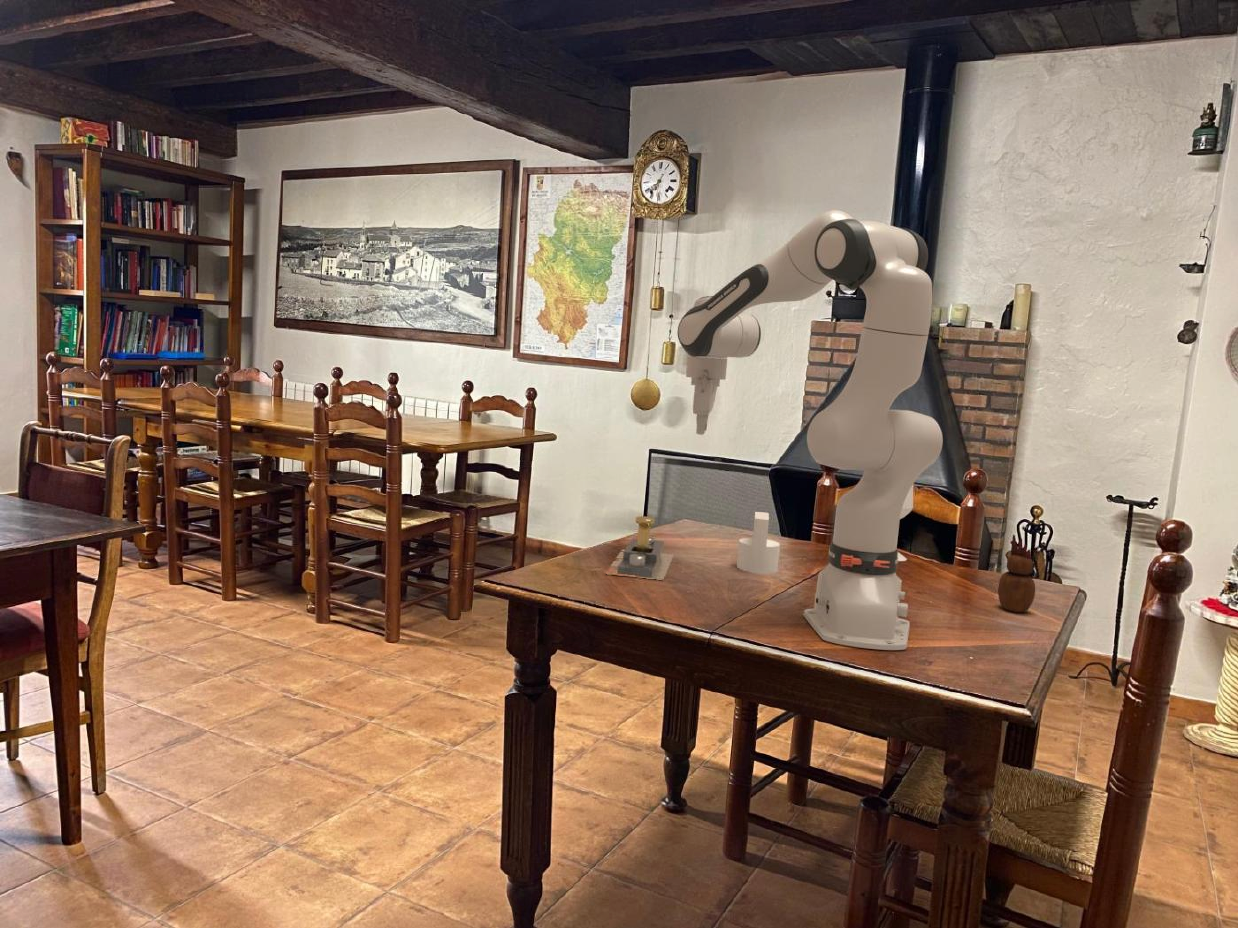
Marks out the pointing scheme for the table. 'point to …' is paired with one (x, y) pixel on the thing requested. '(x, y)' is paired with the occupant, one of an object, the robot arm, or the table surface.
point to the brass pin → (643, 533)
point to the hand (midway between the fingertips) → (701, 432)
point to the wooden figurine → (1017, 580)
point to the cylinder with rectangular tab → (758, 549)
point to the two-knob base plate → (644, 560)
